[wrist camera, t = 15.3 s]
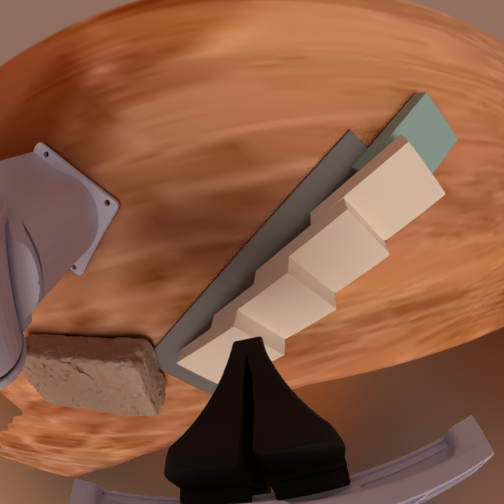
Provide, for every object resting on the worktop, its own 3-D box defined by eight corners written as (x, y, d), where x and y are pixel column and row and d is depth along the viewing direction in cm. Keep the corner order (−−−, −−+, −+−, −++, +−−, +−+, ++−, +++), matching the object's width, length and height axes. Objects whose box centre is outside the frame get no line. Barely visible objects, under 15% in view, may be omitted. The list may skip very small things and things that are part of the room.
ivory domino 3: (210, 328, 23) (288, 272, 18) (214, 314, 24) (288, 256, 20) (256, 354, 25) (336, 309, 20) (257, 340, 26) (334, 293, 21)
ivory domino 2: (253, 284, 22) (347, 208, 17) (255, 270, 23) (343, 197, 18) (299, 316, 23) (390, 254, 19) (299, 302, 25) (384, 241, 20)
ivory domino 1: (310, 223, 20) (408, 141, 15) (310, 212, 21) (400, 134, 16) (354, 262, 22) (445, 194, 16) (351, 249, 23) (437, 184, 18)
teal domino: (360, 170, 18) (426, 92, 16) (351, 167, 20) (414, 93, 18) (398, 215, 20) (457, 139, 18) (388, 209, 21) (445, 137, 19)
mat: (145, 358, 27) (144, 360, 26) (348, 129, 19) (350, 129, 19) (215, 394, 30) (215, 396, 29) (413, 206, 22) (415, 207, 22)
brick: (148, 334, 25) (136, 370, 21) (169, 389, 28) (163, 423, 24) (27, 328, 25) (8, 353, 20) (56, 377, 28) (43, 403, 24)
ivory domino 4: (176, 363, 25) (233, 326, 20) (180, 349, 26) (237, 309, 21) (219, 384, 26) (284, 355, 22) (222, 371, 28) (284, 339, 23)
